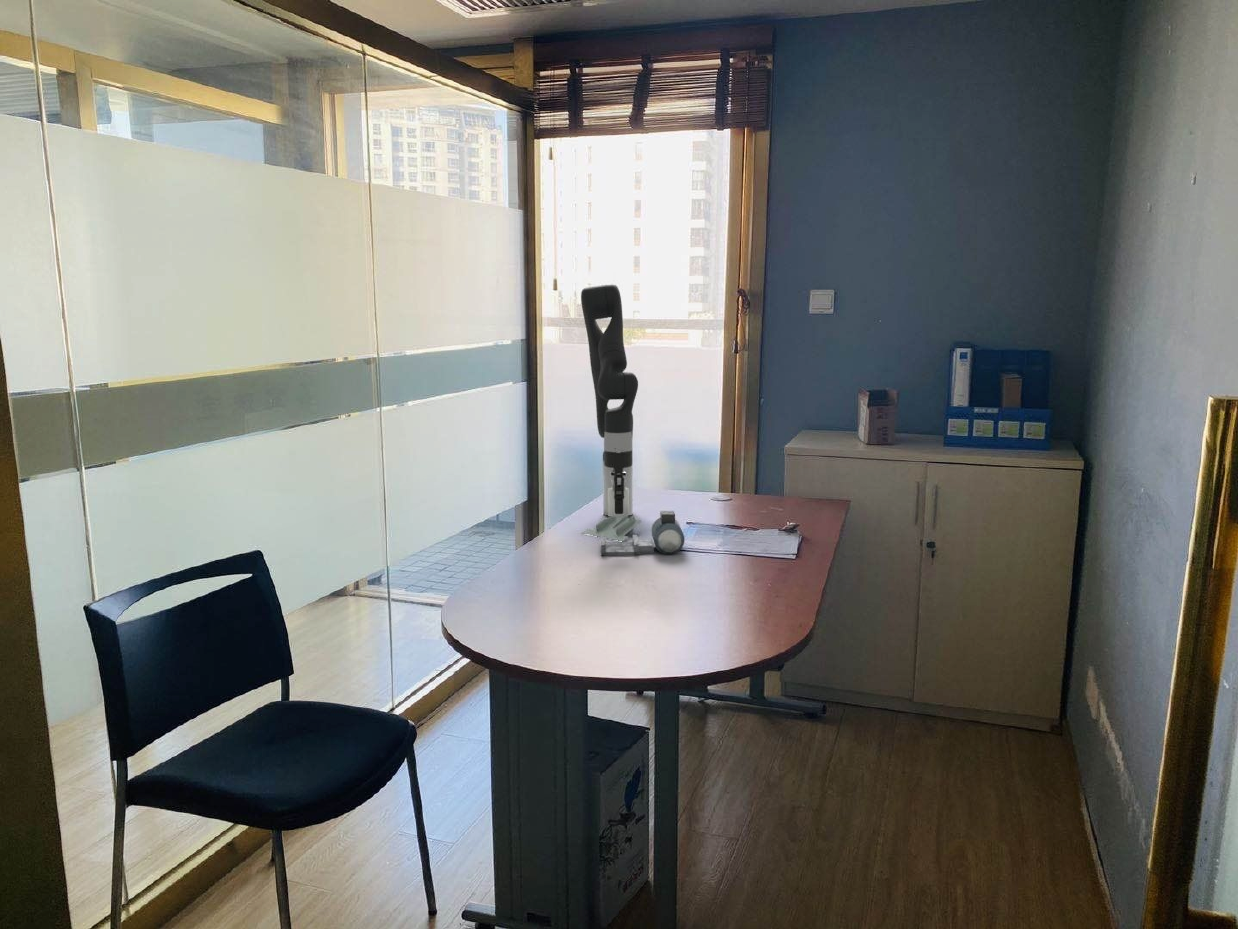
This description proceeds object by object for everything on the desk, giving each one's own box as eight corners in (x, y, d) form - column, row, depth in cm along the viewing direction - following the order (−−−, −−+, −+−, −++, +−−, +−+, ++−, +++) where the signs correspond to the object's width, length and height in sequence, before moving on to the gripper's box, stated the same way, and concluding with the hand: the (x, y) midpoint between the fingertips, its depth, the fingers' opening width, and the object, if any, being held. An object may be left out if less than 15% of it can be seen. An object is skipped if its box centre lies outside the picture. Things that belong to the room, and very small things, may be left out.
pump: (607, 512, 240) (607, 480, 238) (628, 512, 240) (628, 480, 238) (608, 517, 234) (608, 484, 233) (629, 517, 234) (629, 484, 233)
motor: (600, 545, 244) (600, 509, 242) (680, 544, 244) (680, 508, 242) (601, 557, 233) (600, 519, 231) (684, 555, 233) (685, 517, 232)
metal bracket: (606, 507, 265) (647, 514, 256) (610, 524, 267) (651, 532, 258) (577, 530, 255) (619, 538, 246) (581, 548, 257) (622, 556, 248)
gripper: (603, 444, 241) (604, 505, 244) (604, 453, 227) (605, 517, 230) (631, 444, 241) (631, 505, 244) (633, 452, 227) (634, 517, 230)
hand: (618, 510), depth 237 cm, fingers closed on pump, 5 cm apart
